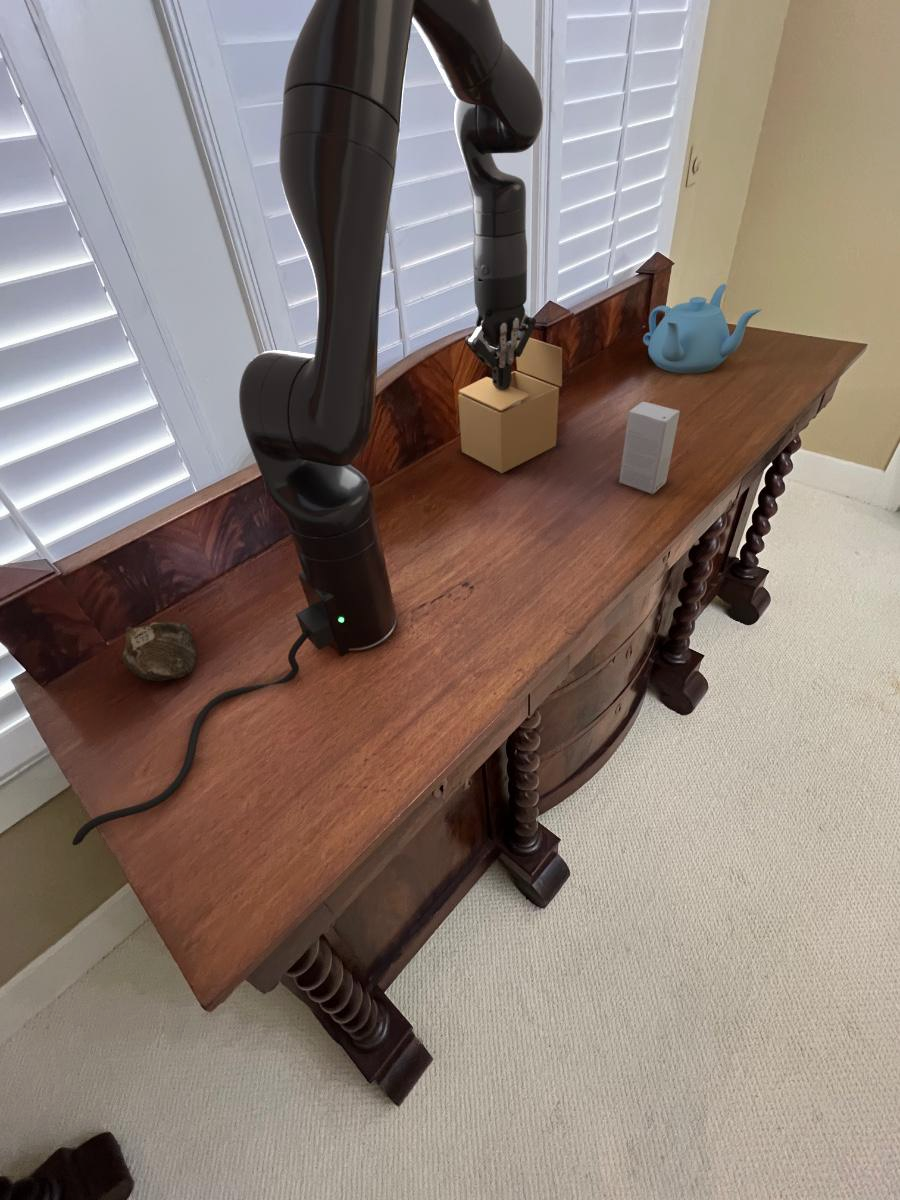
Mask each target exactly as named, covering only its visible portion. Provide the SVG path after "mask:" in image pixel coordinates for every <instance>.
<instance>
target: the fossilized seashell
mask: <svg viewBox="0 0 900 1200" xmlns="http://www.w3.org/2000/svg"><path fill="white" fill-rule="evenodd" d="M188 626H189V625H188V624H187V623H183V622H174V621H171V622H170V621H165V622H164V621H163V622H157V621H153V622H151V623H149V625H144V626H143V625H142V626H138V627H134V628H133V627H132V626H127V627H125V647H124V650H123V653H122V656H121V660H122V661H123V664H124V665H125V666H126V667H127V668H128V670H130V672H132V673H133V674H134V675H135V676H137V677H138V678H141V679H144V680H146V681H153V682H163V681H169V680H173V679H174V680H175V679H176V680H177V679H179V678H182V677H184V676H187V675H188V674H190V673H191V672H192V671H193V669H194V668H195V666H196V662H197V648H196V644H195V639H194V636H193V634H192V631H191V630H190V628H189V627H188Z"/></svg>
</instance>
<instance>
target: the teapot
mask: <svg viewBox="0 0 900 1200" xmlns="http://www.w3.org/2000/svg"><path fill="white" fill-rule="evenodd" d="M726 289H727V284H726V283H724V284H720V285H719V286H718V287H717V288H716V289H715V291H714V292H713V295H712V297H711V299H710V300H709V303H707V300H708V299H707V298H705V297H703V296H694V297H690V298H689V302H683V303H678V304H676V305H674V306H673V307H672V308H671V307H670V306H668V305H658V306H657V307H654V309H652V310H651V312H650V314H649V317H648V325H649V326H648V327H649V328H648V329H649V331H648V332H646V333H645V334H644V335H643V338H642V342H643V344H644V345H645V346H647V347H648V348H647V352H648V355H649V358H650V359H651V360H652V362H653V363H654V365H655V366H657V367H658V368H660V369H662V370H665V371H667V372H671V373H676V374H688V375H691V374H701V373H707V372H709V371H712V370H714V369H715V368H717V367H718V366H719V365H721V364H722V363H723V362H724V361H725V360H726V359H727V357H728V356H730V355H732V354H733V353H734V352H735V351H736V350H737V349H738V348H739V346H740V345H741V343H742V341H743V338H744V335H745V331H746V329H747V325H748V323H749V321H750V320H751V319H752V318H753V317H754V316H755V315H757V314H759V312H762V310H763V309H762V308H759V309H758V308H757V309H752V310H748V311H745V312H744V313H742V315H741V316H740V317H739V318H738V321H737V323H736V326H735V329H734V331H733V333H732V334H731V335H730V330H729V326H728V323H727V319H726V317H725V315H724V313H723V311H722V309H721V303H722V298H723V294H724V293H725V291H726ZM659 312H662V313H665V316H663V318H662V319H661V320H660V321H659V323H658V325H657V321H656V320H657V314H658V313H659Z"/></svg>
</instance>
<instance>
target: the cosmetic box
mask: <svg viewBox="0 0 900 1200" xmlns="http://www.w3.org/2000/svg"><path fill="white" fill-rule="evenodd" d="M680 413H681V411H680V409H675V408H670V407H666V406H662V405H659V404H655V403H651V402H648V401H641V402H640V403H639V404H637V405H635V406H634V407H632V408H631V409H630V410H629V411H628V414H627V421H626V429H625V436H624V444H623V452H622V459H621V465H620V473H619V481H618V482H619V484H622V485H626V486H628V487H631V488H633V489H636V490H639V491H642V492H645V493H648V494H650V495H654V494H655V493H657V491H658V490H659V489H661V488H662V487H663V486H664V485H666V483H667V479H668V473H669V470H670V469H669V468H670V464H671V459H672V453H673V449H674V444H675V437H676V434H677V429H678V423H679V419H680V418H679V417H680Z"/></svg>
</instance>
